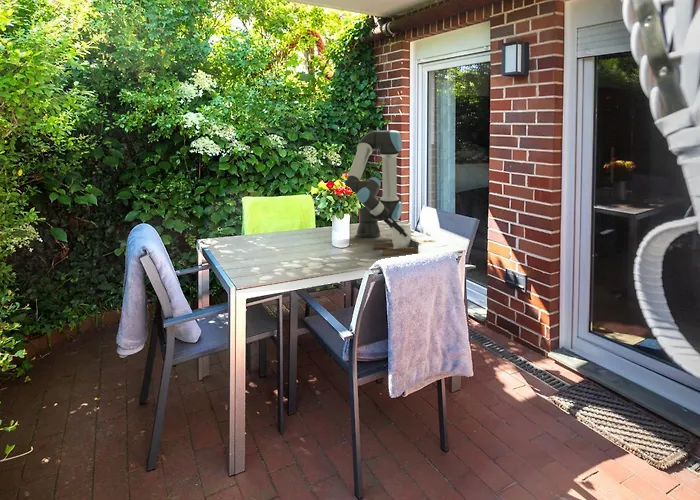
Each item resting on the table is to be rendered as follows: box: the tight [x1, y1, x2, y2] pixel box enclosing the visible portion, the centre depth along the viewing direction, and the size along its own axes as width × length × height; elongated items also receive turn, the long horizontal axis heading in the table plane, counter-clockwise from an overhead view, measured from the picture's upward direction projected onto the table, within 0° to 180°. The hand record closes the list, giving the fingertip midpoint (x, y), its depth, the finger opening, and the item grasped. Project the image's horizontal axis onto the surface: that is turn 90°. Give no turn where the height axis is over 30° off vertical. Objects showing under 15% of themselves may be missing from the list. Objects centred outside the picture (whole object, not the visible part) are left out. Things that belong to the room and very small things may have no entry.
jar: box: [391, 221, 412, 249], centre depth 287 cm, size 11×10×15 cm
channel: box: [373, 237, 419, 256], centre depth 287 cm, size 16×20×6 cm
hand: (406, 237), depth 288 cm, fingers closed on jar, 10 cm apart
